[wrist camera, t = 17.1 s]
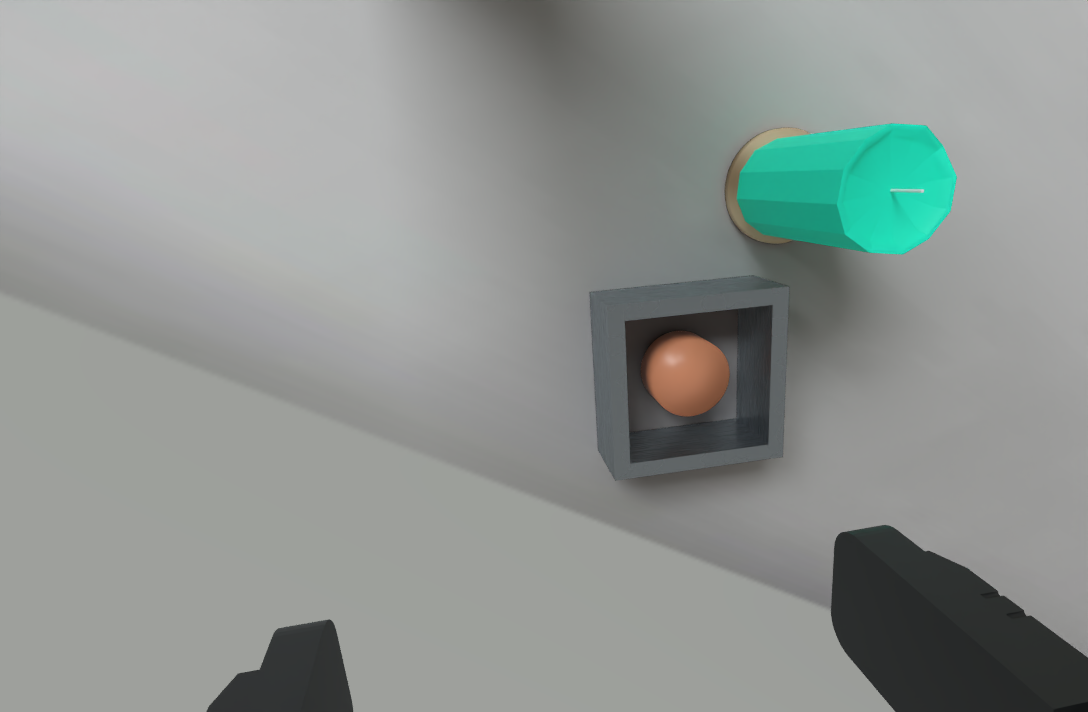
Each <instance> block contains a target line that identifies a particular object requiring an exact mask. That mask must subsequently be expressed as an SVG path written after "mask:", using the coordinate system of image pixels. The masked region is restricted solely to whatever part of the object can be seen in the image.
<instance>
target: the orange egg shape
mask: <svg viewBox="0 0 1088 712" xmlns="http://www.w3.org/2000/svg"><path fill="white" fill-rule="evenodd" d="M729 375H730V373H729V365H728V362H727V359H726V357H725V355H724V354H723V353H722V351H721V350H720V349H719V348H717V347H716V346H715V345H713V344H712V343H710V342H708V341H707V340H705V339H703V338H702V337H700V336H698V335H697V334H695V333H692V332H689V331H673V332H669V333H666V334H664V335H662V336H661V337H659V338H657V339H656V340H655V341H654V342H653V343H652V344H651V345H650V346H649V348H648V349H647V351H646V352H645V354H644V357H643V359H642V363H641V378H642V381H643V384H644V386H645V388H646V389H647V391H648V392H649V393H650V394H651V395H652V396H653V397H654V398H655V399H656V400H657V402H658V403H659V404H660V405H661V406H662V407H663V408H664V409H666V410H667V411H669V412H670V413H672V414H675V415H679V416H695V415H699V414H702V413H704V412H706V411H708V410H709V409H711V408H712V407H713V406H715V405H716V404H717V403H718V402H719V400H720V399H721V398H722V396H723V395H724V393H725V391H726V389H727V386H728V382H729Z"/></svg>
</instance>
